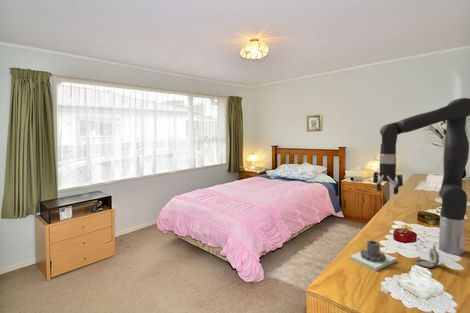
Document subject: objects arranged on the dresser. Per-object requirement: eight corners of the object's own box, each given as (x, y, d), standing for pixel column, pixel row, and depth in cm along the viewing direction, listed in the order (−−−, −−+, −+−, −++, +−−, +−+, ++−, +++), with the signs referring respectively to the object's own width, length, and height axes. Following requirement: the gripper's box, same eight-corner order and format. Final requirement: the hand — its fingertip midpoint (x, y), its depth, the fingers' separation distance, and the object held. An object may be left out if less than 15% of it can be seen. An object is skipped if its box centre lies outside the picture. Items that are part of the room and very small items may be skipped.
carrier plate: (396, 261, 121) (396, 248, 120) (375, 271, 113) (376, 257, 112) (370, 250, 132) (370, 239, 131) (349, 258, 124) (349, 247, 124)
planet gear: (390, 258, 120) (390, 244, 120) (376, 264, 115) (377, 249, 115) (369, 250, 129) (369, 236, 129) (356, 255, 124) (356, 241, 124)
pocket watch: (412, 262, 119) (413, 242, 118) (424, 259, 122) (425, 238, 121) (431, 271, 111) (432, 249, 110) (443, 267, 114) (444, 245, 113)
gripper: (406, 163, 131) (405, 194, 133) (378, 160, 144) (378, 189, 145) (397, 164, 128) (397, 196, 129) (370, 161, 140) (370, 191, 142)
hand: (387, 192), depth 137 cm, fingers open, 8 cm apart
